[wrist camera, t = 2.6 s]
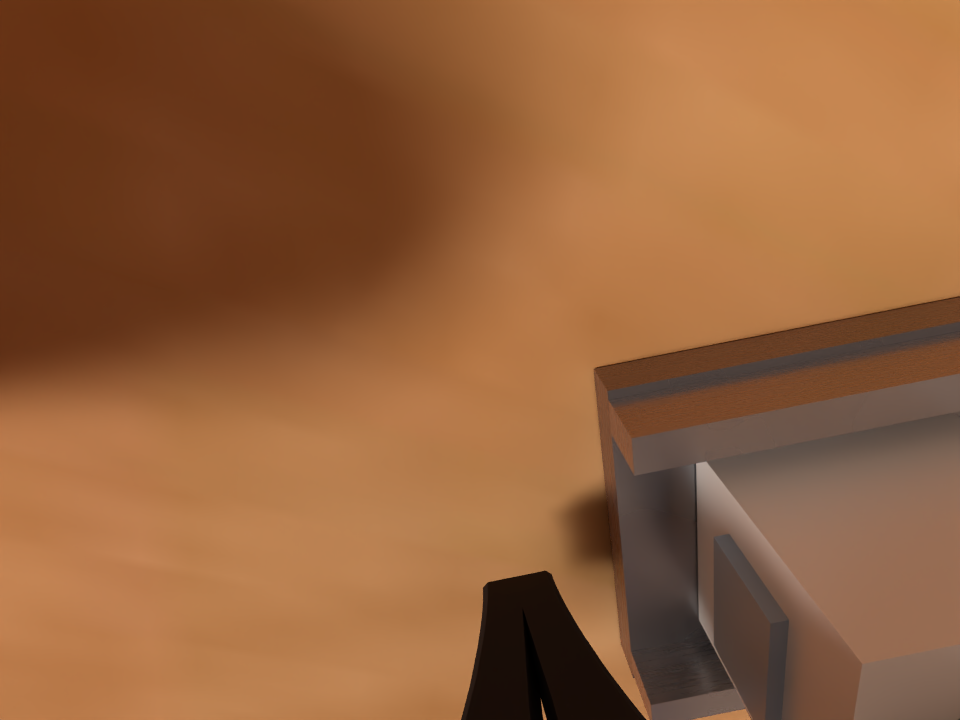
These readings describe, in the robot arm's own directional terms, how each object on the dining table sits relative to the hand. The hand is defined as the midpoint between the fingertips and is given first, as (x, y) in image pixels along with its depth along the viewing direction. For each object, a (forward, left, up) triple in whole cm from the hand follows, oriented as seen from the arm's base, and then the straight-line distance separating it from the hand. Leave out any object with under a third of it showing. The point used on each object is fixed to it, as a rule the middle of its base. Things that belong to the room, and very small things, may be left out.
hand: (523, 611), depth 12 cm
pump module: (0, -6, -1) cm, 7 cm away
